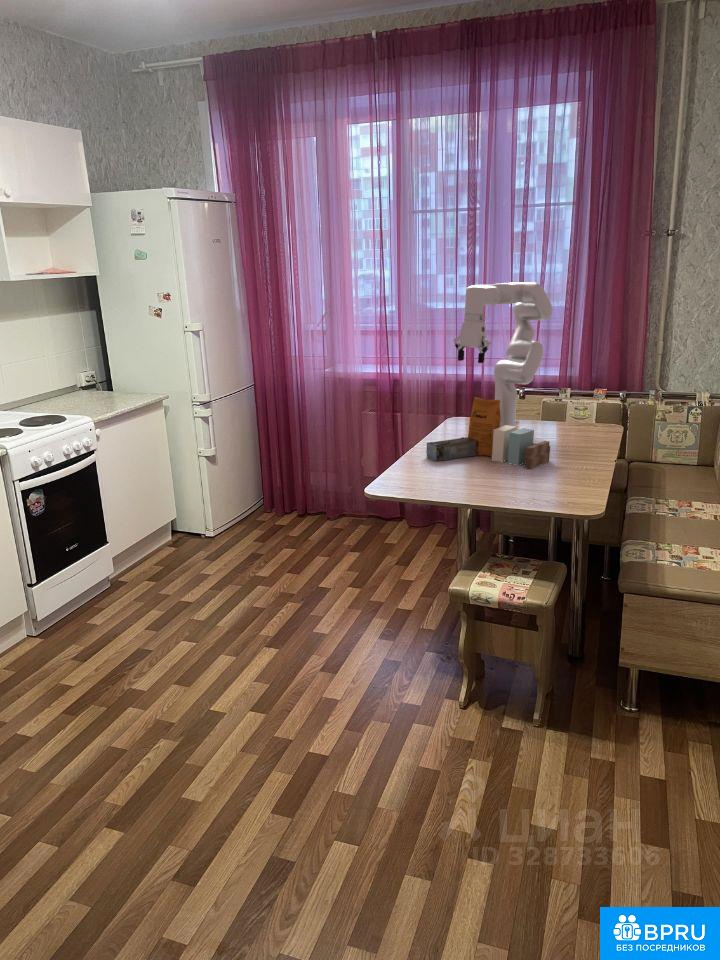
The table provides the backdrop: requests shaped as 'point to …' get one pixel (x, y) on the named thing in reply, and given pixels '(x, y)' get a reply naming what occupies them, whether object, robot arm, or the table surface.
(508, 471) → the table surface
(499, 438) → the book cream
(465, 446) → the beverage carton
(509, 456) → the book teal
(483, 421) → the coffee package
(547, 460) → the brown patterned block
